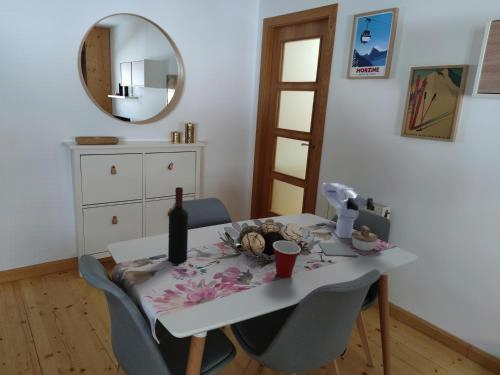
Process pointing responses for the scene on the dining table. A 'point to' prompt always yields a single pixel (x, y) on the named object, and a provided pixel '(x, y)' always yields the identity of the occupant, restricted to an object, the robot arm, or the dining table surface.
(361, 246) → the ramekin
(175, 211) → the wine bottle
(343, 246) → the mat
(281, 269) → the plastic cup
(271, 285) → the dining table surface
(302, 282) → the dining table surface
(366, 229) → the lid
